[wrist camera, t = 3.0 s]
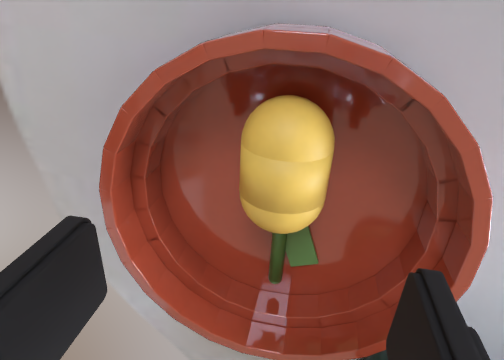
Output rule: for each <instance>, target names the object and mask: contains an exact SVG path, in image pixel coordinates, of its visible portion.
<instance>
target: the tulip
mask: <svg viewBox="0 0 504 360" xmlns="http://www.w3.org/2000/svg"><path fill="white" fill-rule="evenodd" d="M334 144H335V137H334V131H333V128H332V125H331V122H330V120H329V118H328V117H327V115H326V114H325V112H324V111H323V110H322V109H321V108H320V107H319V106H318V105H317V104H315V103H313V102H312V101H310V100H308V99H306V98H303V97H299V96H295V95H283V96H276V97H274V98H271V99H268V100H266V101H265V102H263V103H262V104H260V105H259V106H258V107H257V108H256V109H255V110H254V111H253V112H252V113H251V114H250V116H249V117H248V119H247V120H246V123H245V125H244V128H243V131H242V136H241V154H240V182H239V192H240V200H241V204H242V207H243V209H244V211H245V212H246V214H247V216H248V217H249V218H250V219H251V220H252V221H253V222H254V223H255V224H256V225H257V226H259V227H260V228H262V229H264V230H267V231H269V232H272V243H271V254H270V264H269V275H268V278H269V281H270V282H271V283H272V284H278V283H280V282H281V280H282V274H283V266H284V257H285V250H286V253H287V257H288V260H289V263H290V266H291V267H294V266H303V265H313V264H318V257H317V254H316V250H315V246H314V243H313V239H312V236H311V232H310V228H309V225H310V224H311V223H312V222H313V221H314V220H315V219H316V218H317V217H318V215H319V214H320V212H321V210H322V208H323V206H324V202H325V199H326V194H327V188H328V182H329V176H330V170H331V164H332V159H333V153H334Z"/></svg>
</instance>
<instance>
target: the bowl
mask: <svg viewBox="0 0 504 360" xmlns="http://www.w3.org/2000/svg"><path fill="white" fill-rule="evenodd" d="M283 95H295V96H299V97H303V98H306V99H308V100H310V101H312V102H313V103H315V104H317V105H318V106H319V107H320V108H321V109H322V110H323V111H324V112H325V114H326V115H327V117H328V118H329V120H330V122H331V125H332V128H333V131H334V137H335V144H334V153H333V159H332V164H331V170H330V176H329V182H328V188H327V194H326V199H325V202H324V206H323V208H322V210H321V212H320V214H319V215H318V217H317V218H316V219H315V220H314V221H313V222H312V223H311V224H310V225H309V228H310V232H311V236H312V239H313V243H314V246H315V250H316V254H317V257H318V264H313V265H303V266H294V267H291V266H290V263H289V260H288V257H287V253H286V250H285V257H284V266H283V274H282V280H281V282H280V283H278V284H272V283H271V282H270V281H269V278H268V275H269V264H270V254H271V243H272V232H269V231H267V230H264V229H262V228H260V227H259V226H257V225H256V224H255V223H254V222H253V221H252V220H251V219H250V218H249V217H248V216H247V214H246V212H245V211H244V209H243V207H242V204H241V200H240V192H239V182H240V154H241V136H242V131H243V128H244V125H245V123H246V120H247V119H248V117H249V116H250V114H251V113H252V112H253V111H254V110H255V109H256V108H257V107H258V106H259V105H260V104H262V103H263V102H265V101H266V100H268V99H271V98H274V97H276V96H283ZM99 192H100V197H101V203H102V208H103V214H104V219H105V225H106V229H107V231H108V234H109V236H110V238H111V240H112V242H113V245H114V247H115V249H116V251H117V253H118V255H119V258H120V260H121V262H122V263H123V265H124V266H125V267H126V269H127V270H128V271H129V273H130V274H131V275H132V277H133V278H134V279H135V281H136V282H137V283H138V284H139V286H140V287H141V288H142V290H143V291H144V292H145V293H146V295H148V296H149V297H150V298H151V299H152V300H153V301H154V302H155V303H157V304H158V305H159V306H160V307H161V308H162V309H163V310H165V311H166V312H167V313H168V314H169V315H170V316H171V317H172V318H174V319H175V320H177V321H178V322H180V323H182V324H183V325H185V326H187V327H188V328H190V329H191V330H193V331H195V332H196V333H198V334H200V335H201V336H203V337H205V338H206V339H208V340H210V341H213V342H216V343H218V344H221V345H223V346H226V347H228V348H231V349H233V350H236V351H238V352H241V353H245V354H249V355H254V356H258V357H263V358H268V359H273V360H349V359H356V358H363V357H367V356H370V355H373V354H376V353H379V352H381V351H384V350H386V339H387V336H388V333H389V330H390V327H391V324H392V321H393V318H394V315H395V312H396V309H397V306H398V303H399V300H400V297H401V294H402V291H403V288H404V285H405V282H406V279H407V276H408V274H409V273H410V272H413V273H415V272H416V270H417V269H418V268H422V269H429V270H436V271H441V272H442V273H443V275H444V277H445V279H446V281H447V283H448V285H449V287H450V290H451V292H452V294H453V296H454V298H455V301H456V302H457V301H458V300H459V298H460V297H461V296H462V295H463V294H464V293H465V292H466V291H467V290H468V287H470V285H471V283H472V281H473V279H474V277H475V274H476V272H477V270H478V268H479V266H480V264H481V261H482V259H483V257H484V255H485V253H486V250H487V248H488V246H489V236H490V226H491V215H492V204H493V195H492V191H491V187H490V184H489V180H488V176H487V173H486V169H485V165H484V161H483V158H482V154H481V150H480V147H479V146H478V143H477V142H476V140H475V139H474V137H473V136H472V134H471V133H470V131H469V130H468V129H467V127H466V126H465V124H464V123H463V121H462V120H461V118H460V117H459V116H458V114H457V113H456V111H455V110H454V108H453V107H452V105H451V104H450V102H449V101H448V100H447V98H446V97H445V96H444V95H443V94H442V93H440V92H439V91H438V90H437V89H436V88H434V87H433V86H432V85H431V84H429V83H428V82H427V81H426V80H424V79H423V78H422V77H421V76H419V75H418V74H417V73H415V72H414V71H413V70H411V69H410V68H409V67H408V66H406V65H405V64H404V63H402V62H401V61H400V60H398V59H397V58H396V57H394V56H393V55H392V54H390V53H389V52H388V51H386V50H385V49H384V48H382V47H381V46H379V45H378V44H375V43H372V42H370V41H367V40H364V39H362V38H359V37H356V36H353V35H351V34H348V33H345V32H343V31H340V30H337V29H334V28H332V27H327V26H312V25H297V24H282V23H278V24H271V25H266V26H262V27H257V28H253V29H248V30H244V31H240V32H235V33H231V34H227V35H224V36H221V37H218V38H215V39H212V40H208V41H205V42H203V43H200V44H199V45H197V46H195V47H193V48H192V49H190V50H188V51H186V52H185V53H183V54H181V55H179V56H178V57H176V58H174V59H172V60H171V61H169V62H167V63H165V64H164V65H162V66H160V67H158V68H157V69H155V71H153V72H152V73H151V74H150V75H149V76H148V77H147V79H146V80H145V81H144V82H143V83H142V84H141V85H140V86H139V87H138V88H137V90H136V91H135V92H134V93H133V94H132V95H131V96H130V97H129V98H128V100H127V101H126V102H125V103H124V104H123V105H122V107H121V108H120V110H119V113H118V115H117V117H116V119H115V122H114V124H113V126H112V129H111V131H110V133H109V135H108V138H107V140H106V142H105V145H104V148H103V155H102V164H101V174H100V183H99Z"/></svg>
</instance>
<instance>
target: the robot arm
mask: <svg viewBox="0 0 504 360" xmlns="http://www.w3.org/2000/svg"><path fill="white" fill-rule="evenodd" d="M106 293H107V285H106V279H105V274H104V269H103V264H102V259H101V253H100V248H99V243H98V238H97V233H96V228H95V225H94V224H92V223H91V221H90V220H89V219H88V218H83V217H76V216H68V217H66V218H65V219H63V220H62V221H61V222H60V223H59V224H57V225H56V226H55V227H54V228H53V229H51V230H50V231H49V232H48V233H47V234H46V235H44V236H43V237H42V238H41V239H40V240H38V241H37V242H36V243H35V244H34V245H32V246H31V247H30V248H29V249H28V250H26V251H25V252H24V253H23V254H22V255H20V256H19V257H18V258H17V259H16V260H14V261H13V262H12V263H11V264H10V265H8V266H7V267H6V268H5V269H4V270H2V271H1V272H0V360H60V359H61V357H62V356H63V355H64V353H65V352H66V351H67V349H68V348H69V346H70V345H71V344H72V342H73V341H74V339H75V338H76V337H77V335H78V334H79V333H80V331H81V330H82V329H83V327H84V326H85V325H86V323H87V322H88V321H89V319H90V318H91V316H92V315H93V314H94V312H95V311H96V310H97V308H98V307H99V305H100V304H101V303H102V301H103V300H104V298H105V296H106ZM386 352H387V357H388V360H490V358H489V356H488V354H487V352H486V350H485V348H484V346H483V344H482V341H481V339H480V337H479V335H478V334H477V332H476V331H475V330H474V329H473V328H472V327H468V326H467V325H466V323H465V320H464V318H463V316H462V314H461V312H460V309H459V307H458V305H457V303H456V301H455V298H454V296H453V294H452V292H451V290H450V287H449V285H448V283H447V281H446V279H445V277H444V275H443V273H442V272H441V271H436V270H429V269H422V268H418V269H417V270H416V272H415V273H413V272H410V273H409V274H408V276H407V279H406V282H405V285H404V288H403V291H402V294H401V297H400V300H399V303H398V306H397V309H396V312H395V315H394V318H393V321H392V324H391V327H390V330H389V333H388V336H387V339H386Z"/></svg>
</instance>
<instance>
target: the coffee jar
mask: <svg viewBox="0 0 504 360" xmlns="http://www.w3.org/2000/svg"><path fill="white" fill-rule="evenodd" d="M363 360H388V357H387V352H386V350H384V351H381V352H379V353H376V354H373V355H370V356H367V357H365V358H364V359H363Z"/></svg>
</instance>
